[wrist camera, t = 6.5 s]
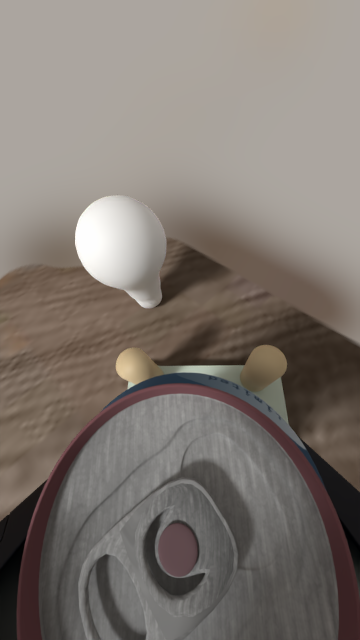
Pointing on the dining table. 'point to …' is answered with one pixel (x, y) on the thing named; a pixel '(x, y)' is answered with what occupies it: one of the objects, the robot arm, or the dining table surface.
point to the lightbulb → (123, 246)
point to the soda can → (186, 526)
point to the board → (219, 373)
